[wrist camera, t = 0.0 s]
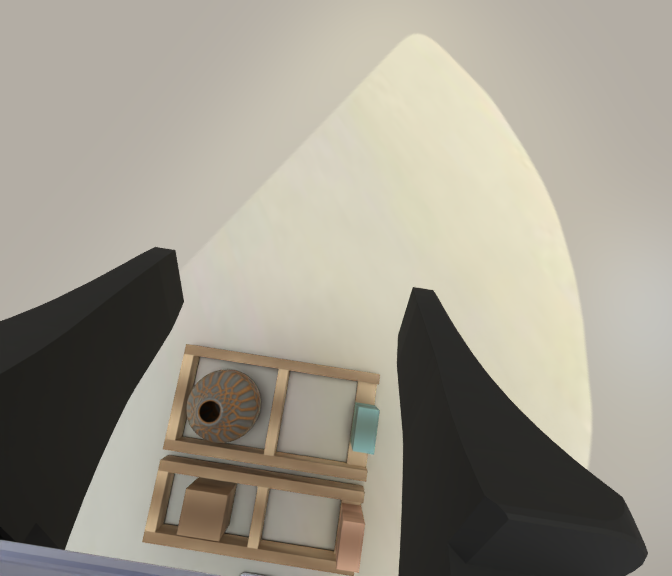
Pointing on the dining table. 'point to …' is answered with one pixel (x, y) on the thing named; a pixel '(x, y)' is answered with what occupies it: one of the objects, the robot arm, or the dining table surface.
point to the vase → (223, 406)
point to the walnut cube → (207, 509)
